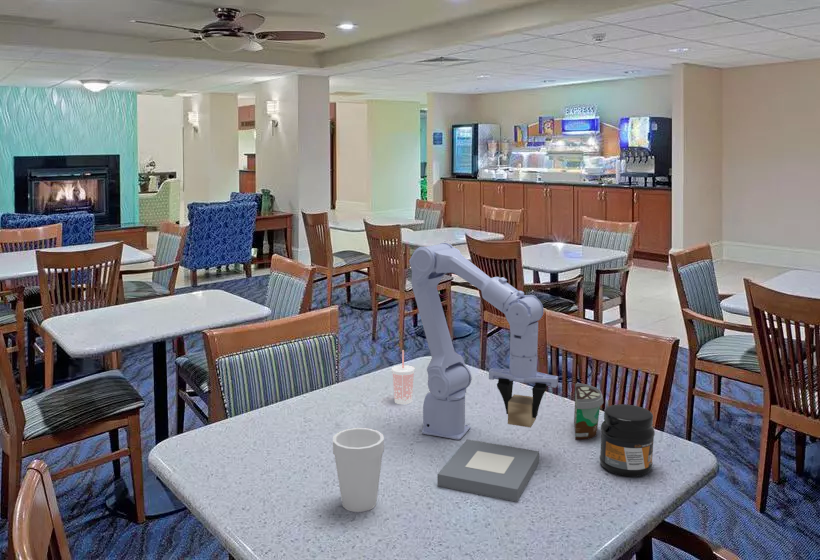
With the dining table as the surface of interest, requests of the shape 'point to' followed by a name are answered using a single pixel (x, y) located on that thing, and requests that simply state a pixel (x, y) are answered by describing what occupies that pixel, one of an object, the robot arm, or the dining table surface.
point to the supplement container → (627, 440)
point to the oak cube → (520, 411)
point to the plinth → (489, 470)
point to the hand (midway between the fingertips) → (521, 414)
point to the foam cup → (358, 466)
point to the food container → (586, 411)
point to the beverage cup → (403, 382)
